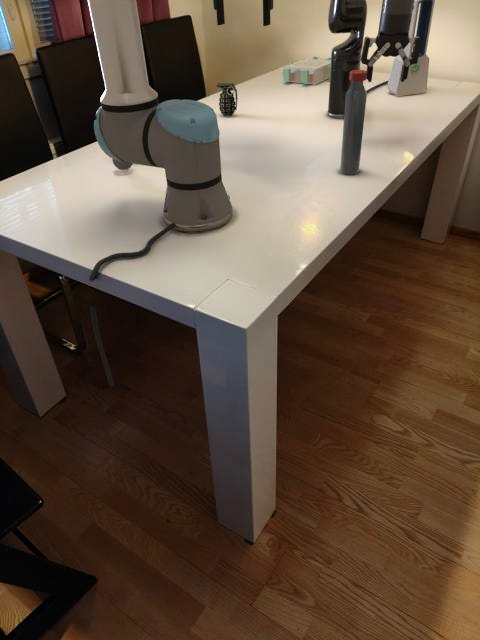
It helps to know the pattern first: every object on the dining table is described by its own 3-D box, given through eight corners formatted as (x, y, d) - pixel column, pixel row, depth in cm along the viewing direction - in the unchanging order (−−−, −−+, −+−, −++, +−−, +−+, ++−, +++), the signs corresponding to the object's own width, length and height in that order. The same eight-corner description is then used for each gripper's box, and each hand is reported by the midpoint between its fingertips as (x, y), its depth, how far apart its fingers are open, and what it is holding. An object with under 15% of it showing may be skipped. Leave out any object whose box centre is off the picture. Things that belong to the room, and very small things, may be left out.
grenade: (217, 117, 168) (214, 86, 162) (221, 112, 172) (219, 82, 166) (235, 117, 166) (233, 86, 160) (239, 113, 171) (238, 82, 165)
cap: (369, 79, 111) (370, 71, 110) (358, 82, 109) (358, 74, 108) (357, 76, 113) (358, 69, 112) (345, 79, 111) (346, 71, 110)
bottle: (362, 171, 124) (373, 73, 110) (349, 176, 122) (358, 76, 108) (348, 166, 127) (357, 70, 113) (336, 171, 125) (343, 73, 111)
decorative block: (305, 54, 216) (346, 57, 206) (304, 70, 220) (345, 74, 210) (274, 66, 200) (317, 69, 190) (274, 83, 204) (316, 87, 194)
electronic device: (396, 96, 178) (409, -2, 159) (385, 92, 183) (397, -3, 165) (426, 92, 180) (443, -5, 162) (415, 88, 186) (430, -6, 167)
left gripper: (294, -84, 112) (293, 23, 125) (203, -76, 122) (210, 22, 135) (281, -84, 107) (280, 27, 120) (186, -76, 117) (195, 26, 130)
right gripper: (423, 7, 122) (410, 77, 132) (365, 8, 123) (357, 77, 134) (429, 12, 116) (415, 85, 127) (369, 13, 117) (359, 85, 128)
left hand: (243, 25), depth 128 cm, fingers open, 13 cm apart
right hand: (385, 81), depth 130 cm, fingers open, 8 cm apart
